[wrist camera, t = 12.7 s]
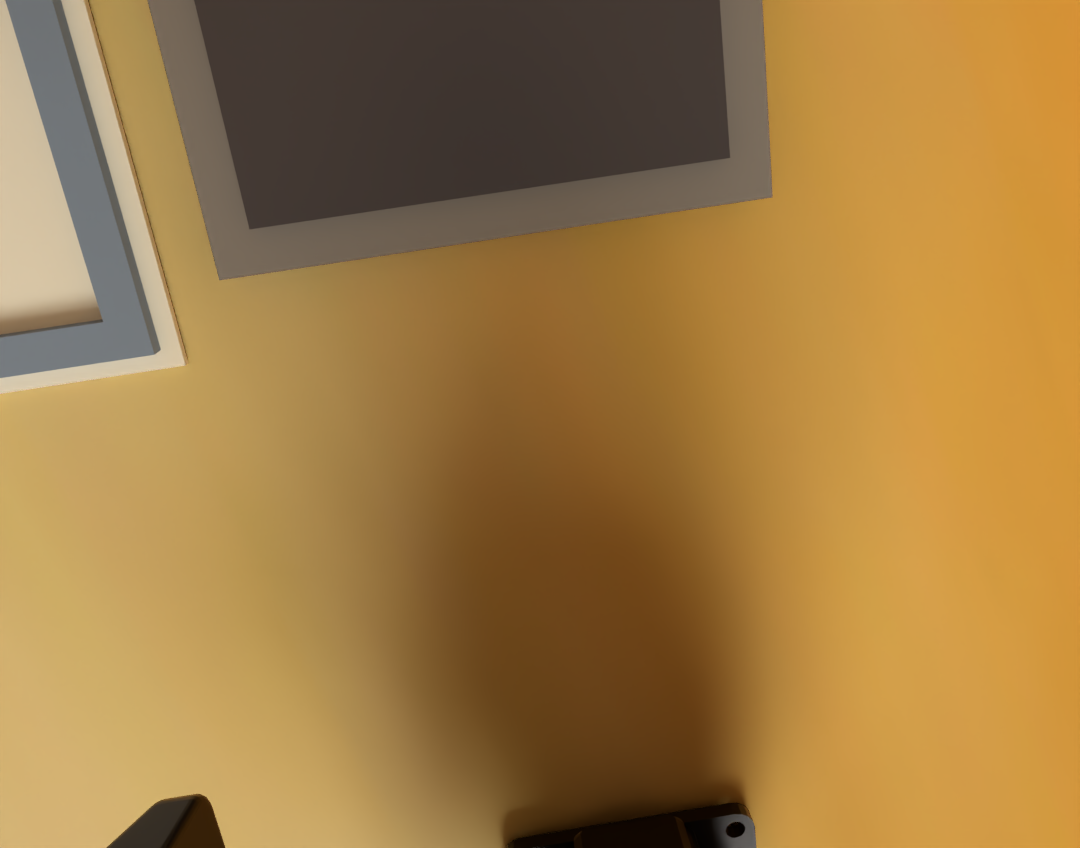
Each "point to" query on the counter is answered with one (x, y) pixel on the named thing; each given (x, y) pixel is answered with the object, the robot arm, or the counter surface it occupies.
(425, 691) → the counter surface
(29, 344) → the marked sheet
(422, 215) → the ink pad
